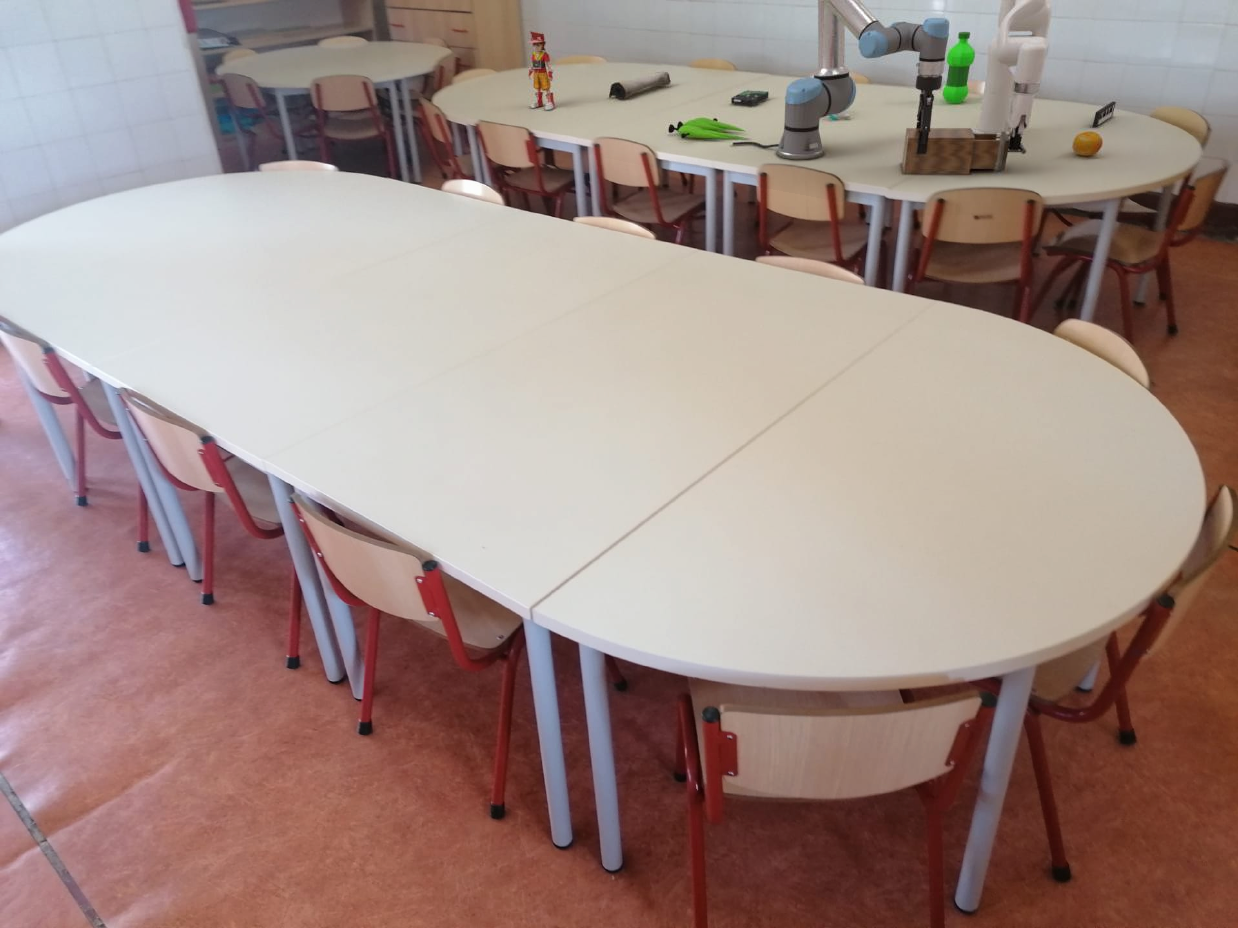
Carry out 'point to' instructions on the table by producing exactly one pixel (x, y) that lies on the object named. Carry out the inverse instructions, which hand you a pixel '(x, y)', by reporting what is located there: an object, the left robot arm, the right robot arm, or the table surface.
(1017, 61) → the right robot arm
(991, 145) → the drawer
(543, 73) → the toy
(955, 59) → the plastic bottle
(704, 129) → the toy
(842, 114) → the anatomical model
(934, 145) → the cabinet
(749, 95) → the disk drive
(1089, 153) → the fruit
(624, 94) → the rolled mat
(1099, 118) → the midi keyboard
